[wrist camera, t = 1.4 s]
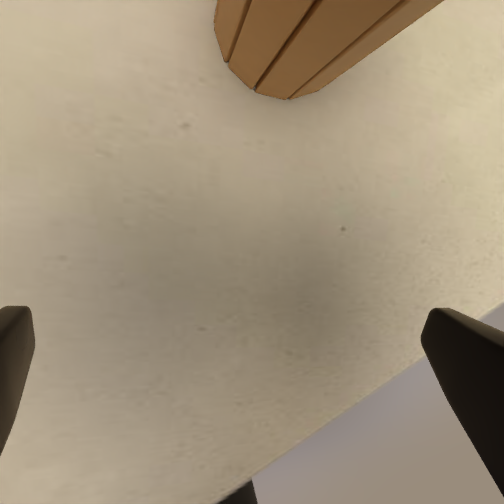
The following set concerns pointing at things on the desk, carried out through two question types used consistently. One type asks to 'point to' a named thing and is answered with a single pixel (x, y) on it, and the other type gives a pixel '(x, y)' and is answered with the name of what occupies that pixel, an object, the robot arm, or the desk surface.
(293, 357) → the desk surface
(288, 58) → the wooden stave pencil cup
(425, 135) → the desk surface
